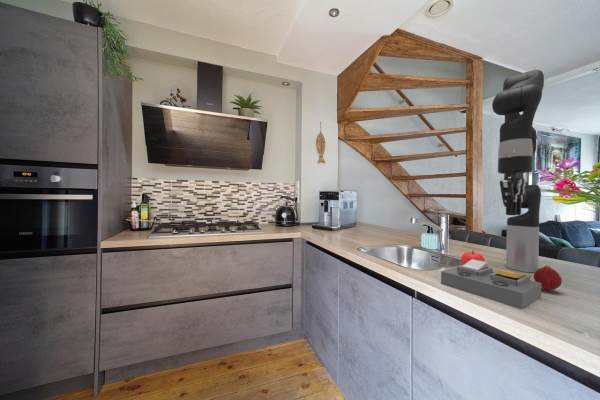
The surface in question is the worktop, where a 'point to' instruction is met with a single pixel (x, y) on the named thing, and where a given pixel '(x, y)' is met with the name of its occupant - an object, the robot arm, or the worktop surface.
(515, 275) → the amber rocker
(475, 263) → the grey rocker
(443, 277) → the grey flat block
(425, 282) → the worktop surface
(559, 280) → the red rounded lump
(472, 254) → the apple
